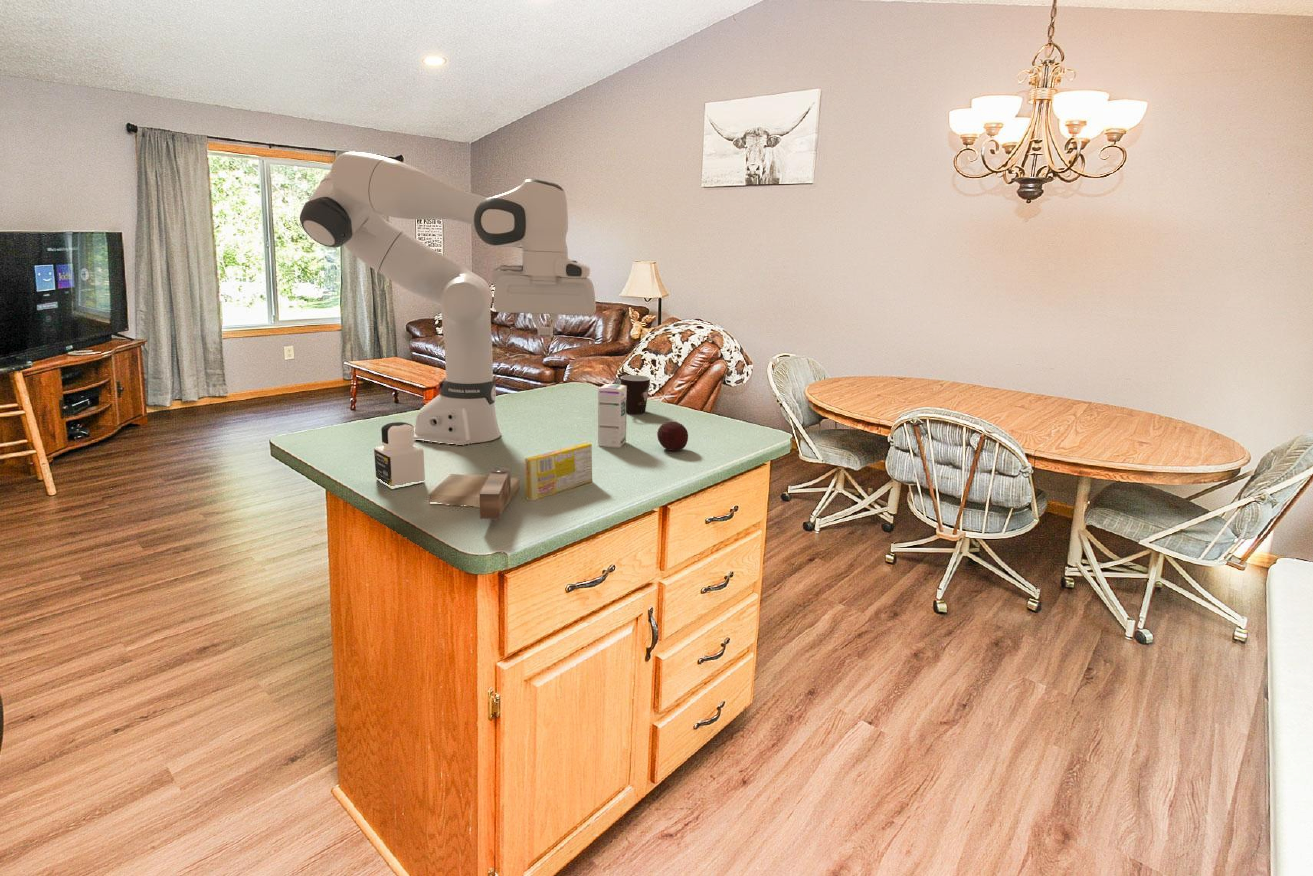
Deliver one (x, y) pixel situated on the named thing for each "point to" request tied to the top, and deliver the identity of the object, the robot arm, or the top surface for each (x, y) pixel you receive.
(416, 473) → the medicine bottle
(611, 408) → the syrup box
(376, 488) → the top surface
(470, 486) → the stool seat
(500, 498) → the folding leg
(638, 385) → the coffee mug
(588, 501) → the top surface
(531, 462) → the candy box
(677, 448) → the dark red plum
